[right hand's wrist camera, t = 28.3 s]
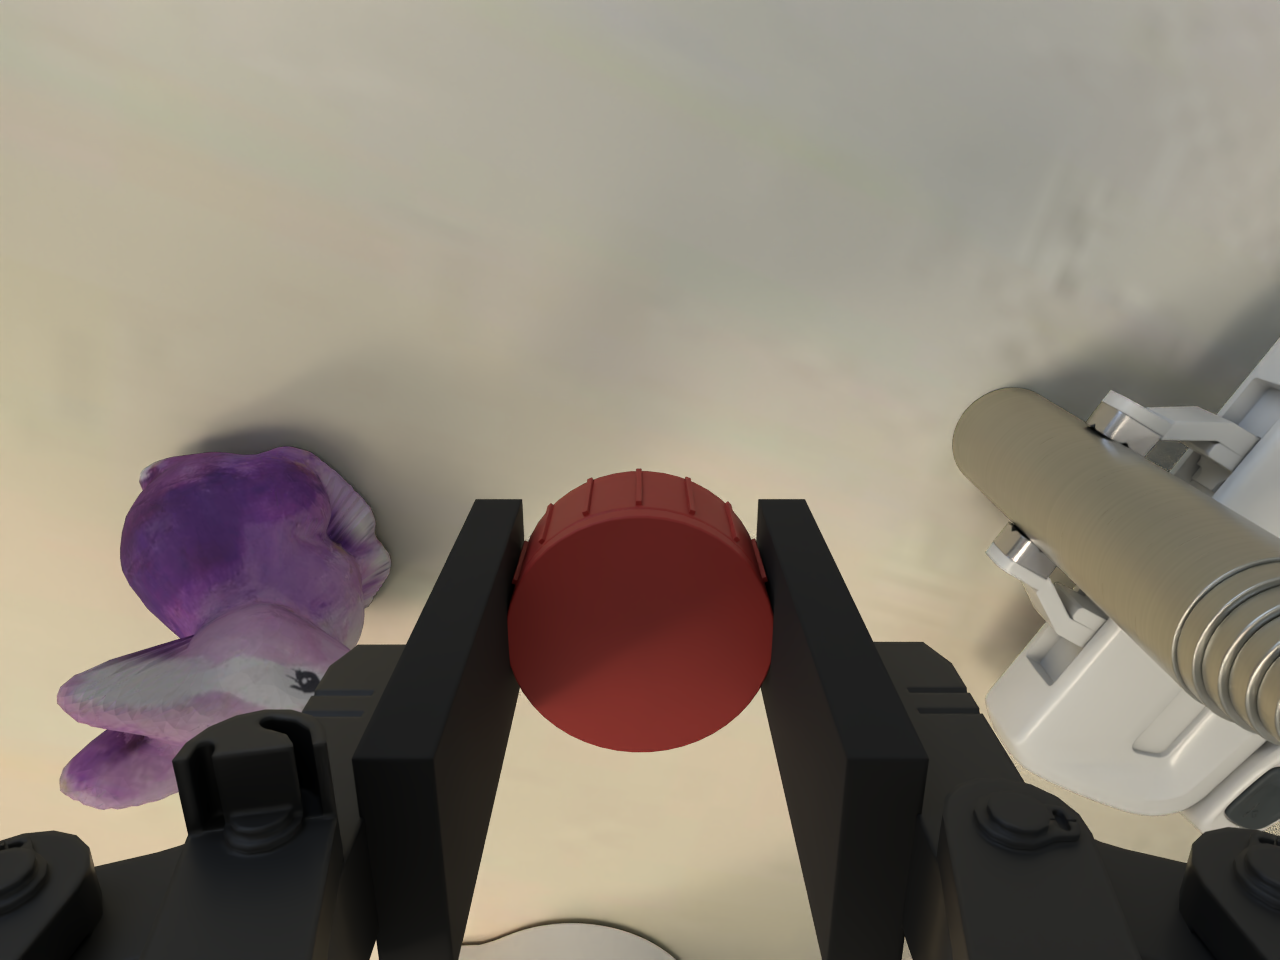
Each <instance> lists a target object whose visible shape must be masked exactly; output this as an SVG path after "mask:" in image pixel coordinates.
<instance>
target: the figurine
mask: <svg viewBox="0 0 1280 960" xmlns="http://www.w3.org/2000/svg"><path fill="white" fill-rule="evenodd" d="M139 482H140V485H141V487H142V490H143V491H142V492H141V493H140V495H139V496H138V498H137V499H136V501H135V502H134V504H133V505H132V507H131V509H130V510H129V512H128V514H127V516H126V519H125V523H124V527H123V531H122V537H121V546H120V559H121V566H122V571H123V573H124V575H125V577H126V579H127V581H128V583H129V585H130V586H131V587H132V589H133V590H134V591H135V593H136V594H137V595H138V596H139V598H140V599H141V600H142V602H143V603H144V605H145V606H146V607H147V608H148V610H149V611H150V612H152V613H153V614H154V615H155V616H156V617H157V618H158V619H159V620H160V621H161V622H162V623H164V624H165V625H166V626H167V627H168V628H169V629H170V630H171V631H172V632H174V633H175V634H176V635H177V636H178V637H179V638H180V639H177V640H174V641H171V642H167V643H164V644H161V645H158V646H154V647H151V648H148V649H144V650H141V651H138V652H134V653H131V654H128V655H124V656H121V657H118V658H115V659H111V660H109V661H106V662H104V663H102V664H100V665H98V666H95V667H93V668H91V669H89V670H87V671H84V672H82V673H79V674H76V675H74V676H73V677H72V678H71V679H70V680H68V681H67V682H66V683H65V684H63V685H62V686H61V687H60V689H59V692H58V695H57V704H58V705H60V707H61V708H62V709H63V710H64V711H65V712H66V713H67V714H69V715H70V716H71V717H72V718H73V719H75V720H76V721H77V722H79V723H84V724H88V725H90V726H92V727H98V728H103V729H107V730H106V731H104V732H103V733H102V734H100V735H99V736H98V737H96V738H95V739H94V740H92V741H91V742H90V743H89V744H88V745H87V746H86V747H84V748H83V749H82V750H81V751H80V752H79V753H78V754H77V755H76V756H75V757H73V758H72V759H71V761H70V762H69V763H68V764H67V765H66V766H65V767H64V768H63V771H62V774H61V777H60V791H61V792H62V793H64V794H65V795H67V796H69V797H70V798H72V799H73V800H77V801H80V802H81V803H82V804H83V805H87V806H91V807H94V808H97V809H109V808H113V809H122V808H127V807H131V806H139V805H142V804H145V803H149V802H154V801H158V800H161V799H164V798H166V797H168V796H169V795H172V794H175V793H177V792H179V791H178V787H177V782H176V778H175V773H174V769H173V764H172V760H173V759H174V757H175V756H176V755H177V753H178V752H179V751H180V750H181V748H182V747H183V746H184V744H185V743H186V742H188V741H189V740H190V739H192V738H193V737H195V736H196V735H198V734H199V733H201V732H202V731H203V730H205V729H206V728H208V727H210V726H212V725H214V724H217V723H219V722H222V721H224V720H226V719H229V718H231V717H234V716H236V715H241V714H245V713H250V712H255V711H260V710H264V709H292V710H295V711H298V712H302V710H303V709H304V707H305V705H306V704H307V702H308V700H309V699H310V697H311V696H314V691H315V689H316V687H317V686H318V684H319V682H320V681H321V679H322V677H323V676H324V674H325V673H326V671H327V669H328V668H329V666H330V665H331V664H333V663H334V662H336V661H337V660H338V659H340V658H341V657H342V656H344V655H345V654H346V653H348V652H349V651H350V650H352V649H353V648H354V647H355V646H356V644H357V642H358V640H359V638H360V635H361V632H362V628H363V624H364V608H366V607H368V606H369V604H370V603H371V602H372V600H373V596H374V595H376V592H377V591H379V588H380V587H382V583H384V582H385V579H386V578H387V577H388V575H389V572H390V568H391V559H390V556H389V553H388V552H387V551H386V550H385V548H384V546H383V545H382V543H381V542H380V541H379V540H378V539H377V537H376V535H375V526H376V522H375V518H374V515H373V512H372V510H371V507H370V506H369V505H367V503H366V502H365V500H364V499H363V498H362V497H361V495H360V494H359V493H358V492H355V491H354V489H353V487H352V486H351V485H350V484H348V483H347V482H346V481H345V480H344V479H343V478H342V477H341V476H340V475H339V474H338V473H337V472H336V471H335V470H333V469H332V468H330V467H329V466H328V465H327V464H326V463H325V462H322V461H321V460H320V458H319V457H317V456H316V455H314V454H313V453H311V452H309V451H306V450H302V449H298V448H295V447H287V446H284V447H278V448H274V449H272V450H269V451H266V452H262V453H259V454H254V455H241V454H233V453H223V452H206V453H198V454H191V455H183V456H176V457H170V458H166V459H163V460H159V461H157V462H154V463H153V464H151V465H149V466H148V467H146V468H145V469H143V470H142V472H141V474H140V480H139Z"/></svg>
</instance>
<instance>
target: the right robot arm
mask: <svg viewBox="0 0 1280 960" xmlns="http://www.w3.org/2000/svg"><path fill="white" fill-rule="evenodd" d="M756 542H757V546H758V549H759V552H760V556H761V559H762V562H763V566H764V569H765V572H766V576H767V579H768V581H767V582H765V585H766V589H767V592H768V596H769V599H770V603H771V607H772V611H773V635H772V652H771V664H770V667H769V670H768V673H767V675H766V678H765V679H764V681H763V683H762V685H761V691H762V696H763V700H764V704H765V709H766V713H767V718H768V722H769V727H770V731H771V735H772V740H773V744H774V749H775V753H776V758H777V762H778V766H779V771H780V775H781V780H782V784H783V789H784V793H785V797H786V802H787V806H788V811H789V815H790V819H791V824H792V828H793V833H794V837H795V842H796V846H797V850H798V855H799V859H800V864H801V868H802V873H803V877H804V881H805V886H806V890H807V895H808V899H809V904H810V908H811V912H812V917H813V921H814V926H815V930H816V935H817V939H818V943H819V948H820V952H821V957H822V960H901V959H902V952H903V945H904V938H906V941H907V944H908V947H909V950H910V953H911V956H912V959H913V960H1280V836H1276V835H1273V834H1270V833H1267V832H1263V831H1260V830H1254V829H1244V828H1234V827H1225V828H1220V829H1216V830H1211V831H1206V832H1204V833H1203V834H1202V835H1201V836H1200V837H1199V838H1198V839H1197V840H1196V841H1195V842H1194V843H1193V844H1192V848H1191V851H1190V855H1189V859H1188V862H1187V863H1183V862H1179V861H1175V860H1170V859H1166V858H1161V857H1157V856H1153V855H1148V854H1144V853H1140V852H1135V851H1131V850H1126V849H1123V848H1119V847H1116V846H1112V845H1109V844H1106V843H1102V842H1099V841H1097V840H1095V839H1094V838H1093V835H1092V833H1091V832H1090V830H1089V829H1088V827H1087V826H1086V824H1085V823H1084V821H1083V820H1082V818H1081V817H1080V815H1079V814H1078V813H1077V812H1076V811H1074V810H1073V809H1072V808H1071V807H1069V806H1068V805H1067V804H1066V803H1064V802H1063V801H1062V800H1060V799H1059V798H1058V797H1056V796H1054V795H1052V794H1050V793H1048V792H1046V791H1044V790H1041V789H1039V788H1037V787H1035V786H1033V785H1031V784H1027V783H1025V782H1024V780H1023V779H1022V777H1021V776H1020V774H1019V772H1018V771H1017V769H1016V767H1015V766H1014V764H1013V762H1012V761H1011V759H1010V758H1009V756H1008V754H1007V753H1006V751H1005V749H1004V748H1003V746H1002V745H1001V743H1000V741H999V740H998V738H997V736H996V735H995V733H994V732H993V730H992V728H991V727H990V725H989V723H988V722H987V720H986V718H985V717H984V715H983V714H980V712H979V707H978V705H977V704H976V702H975V701H974V699H973V697H972V696H971V694H970V693H967V688H966V686H965V684H964V683H963V681H962V679H961V678H960V676H959V675H958V673H957V671H956V670H955V668H954V666H953V665H952V663H951V662H949V661H948V660H947V659H945V658H944V657H943V656H941V655H940V654H938V653H937V652H936V651H934V650H933V649H932V648H930V647H929V646H928V645H926V644H925V643H924V642H873V640H872V638H871V636H870V634H869V632H868V630H867V628H866V626H865V624H864V622H863V620H862V617H861V615H860V613H859V611H858V609H857V607H856V605H855V603H854V601H853V599H852V597H851V595H850V592H849V590H848V588H847V586H846V584H845V582H844V580H843V578H842V576H841V574H840V572H839V569H838V567H837V565H836V563H835V561H834V559H833V557H832V555H831V553H830V551H829V549H828V547H827V544H826V542H825V540H824V538H823V536H822V534H821V532H820V530H819V528H818V526H817V524H816V521H815V519H814V517H813V515H812V513H811V511H810V509H809V507H808V505H807V503H806V501H805V499H758V518H757V538H756ZM523 544H524V527H523V507H522V499H476V500H475V502H474V504H473V506H472V508H471V510H470V512H469V514H468V516H467V519H466V521H465V523H464V525H463V527H462V529H461V531H460V533H459V535H458V537H457V539H456V542H455V544H454V546H453V548H452V550H451V552H450V554H449V556H448V558H447V560H446V562H445V564H444V567H443V569H442V571H441V573H440V575H439V577H438V579H437V581H436V583H435V585H434V587H433V590H432V592H431V594H430V596H429V598H428V600H427V602H426V604H425V606H424V608H423V610H422V613H421V615H420V617H419V619H418V621H417V623H416V625H415V627H414V629H413V631H412V633H411V635H410V638H409V640H408V642H407V644H406V645H357V646H356V647H354V648H353V649H352V650H350V651H349V652H348V653H346V654H345V655H344V656H342V657H341V658H340V659H338V660H337V661H336V662H334V663H333V664H331V665H330V666H329V668H328V669H327V671H326V673H325V674H324V676H323V677H322V679H321V681H320V682H319V684H318V686H317V687H316V689H315V691H314V696H311V697H310V699H309V700H308V702H307V704H306V705H305V707H304V709H303V710H302V712H298V711H295V710H292V709H264V710H260V711H255V712H250V713H245V714H241V715H236V716H234V717H231V718H229V719H226V720H224V721H222V722H219V723H217V724H214V725H212V726H210V727H208V728H206V729H205V730H203V731H202V732H201V733H199V734H198V735H196V736H195V737H193V738H192V739H190V740H189V741H188V742H186V743H185V744H184V746H183V747H182V748H181V750H180V751H179V752H178V753H177V755H176V756H175V757H174V759H173V760H172V764H173V769H174V773H175V778H176V782H177V787H178V791H179V796H180V800H181V805H182V809H183V813H184V818H185V822H186V827H187V831H188V837H187V839H186V842H185V844H183V845H181V846H177V847H174V848H171V849H167V850H164V851H161V852H157V853H153V854H149V855H144V856H140V857H135V858H131V859H127V860H122V861H118V862H114V863H109V864H105V865H100V866H96V867H94V863H93V859H92V856H91V852H90V849H89V847H88V846H87V845H86V844H85V843H84V842H83V841H82V840H81V839H80V838H79V837H78V836H77V835H72V834H68V833H63V832H58V831H45V832H35V833H25V834H21V835H18V836H14V837H11V838H8V839H5V840H1V841H0V960H369V959H370V956H371V953H372V950H373V947H374V944H375V941H377V948H378V955H379V960H458V959H459V955H460V950H461V946H462V942H463V937H464V933H465V928H466V924H467V919H468V915H469V911H470V906H471V902H472V897H473V893H474V888H475V884H476V880H477V875H478V871H479V866H480V862H481V857H482V853H483V849H484V844H485V840H486V835H487V831H488V826H489V822H490V818H491V813H492V809H493V804H494V800H495V795H496V791H497V787H498V782H499V778H500V773H501V769H502V764H503V760H504V756H505V751H506V747H507V742H508V738H509V733H510V729H511V725H512V720H513V716H514V711H515V707H516V702H517V698H518V694H519V689H520V686H519V684H518V682H517V681H516V679H515V676H514V674H513V671H512V668H511V666H510V658H509V642H508V624H507V613H508V609H509V604H510V601H511V597H512V594H513V590H514V587H515V584H512V580H513V577H514V574H515V570H516V567H517V564H518V560H519V557H520V554H521V550H522V547H523Z"/></svg>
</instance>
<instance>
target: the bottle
mask: <svg viewBox="0 0 1280 960" xmlns="http://www.w3.org/2000/svg"><path fill="white" fill-rule="evenodd" d="M952 447H953V455H954V459H955V461H956V464H957V466H958V467H959V469H960V471H961V472H962V473H963V474H964V475H965V476H966V477H967V478H968V479H969V480H970V481H971V482H972V483H973V484H974V485H975V486H976V487H977V488H978V489H979V490H980V491H981V492H982V493H983V494H984V495H985V496H986V497H987V498H988V499H989V500H990V501H991V502H992V503H993V504H994V505H995V506H996V507H997V508H998V509H999V510H1000V511H1001V512H1002V513H1003V514H1004V515H1006V516H1007V517H1008V518H1009V519H1010V520H1011V521H1012V522H1013V523H1014V524H1015V525H1016V526H1017V527H1018V528H1019V529H1020V530H1021V531H1022V532H1023V533H1024V534H1025V535H1026V536H1027V537H1028V538H1029V539H1030V540H1031V541H1032V542H1033V543H1034V544H1035V545H1036V546H1037V547H1038V548H1039V549H1040V550H1041V551H1042V552H1043V553H1044V554H1045V555H1046V556H1047V557H1048V558H1049V559H1050V560H1051V561H1052V562H1053V563H1055V564H1056V565H1057V566H1058V567H1059V568H1060V569H1061V570H1062V571H1063V572H1064V573H1065V574H1066V575H1067V576H1068V577H1069V578H1070V579H1071V580H1072V581H1073V582H1074V583H1075V584H1076V585H1077V586H1078V587H1079V588H1080V589H1081V590H1082V591H1083V592H1084V593H1085V594H1086V595H1087V596H1088V597H1089V598H1090V599H1091V600H1092V601H1093V602H1094V603H1095V604H1096V605H1097V606H1098V607H1099V608H1100V609H1101V610H1102V611H1104V612H1105V613H1106V614H1107V615H1108V616H1109V617H1110V618H1111V619H1112V620H1113V621H1114V622H1115V623H1116V624H1117V625H1118V626H1119V627H1120V628H1121V629H1122V630H1123V631H1124V632H1125V633H1126V634H1127V635H1128V636H1129V637H1130V638H1131V639H1132V640H1133V641H1134V642H1135V643H1136V644H1137V645H1138V646H1139V647H1140V648H1141V649H1142V650H1143V651H1144V652H1145V653H1146V654H1147V655H1148V656H1149V657H1150V658H1151V659H1153V660H1154V661H1155V662H1156V663H1157V664H1158V665H1159V666H1160V667H1161V668H1162V669H1163V670H1164V671H1165V672H1166V673H1167V674H1168V675H1169V676H1170V677H1171V678H1172V679H1173V680H1174V681H1175V682H1176V683H1177V684H1178V685H1179V686H1180V687H1181V688H1182V689H1183V690H1184V691H1185V692H1186V693H1187V694H1188V695H1190V696H1191V697H1192V698H1193V699H1195V700H1196V701H1198V702H1199V703H1201V704H1203V705H1205V706H1206V707H1207V708H1208V709H1209V710H1210V711H1212V712H1213V713H1214V714H1216V715H1217V716H1219V717H1221V718H1223V719H1225V720H1227V721H1229V722H1233V723H1235V724H1237V725H1238V726H1240V727H1241V728H1243V729H1245V730H1247V731H1249V732H1251V733H1254V734H1258V735H1260V736H1261V737H1262V738H1264V739H1265V740H1267V741H1268V742H1271V743H1273V744H1275V745H1277V746H1280V538H1278V537H1277V536H1275V535H1273V534H1272V533H1270V532H1268V531H1267V530H1265V529H1263V528H1261V527H1260V526H1258V525H1256V524H1255V523H1253V522H1251V521H1250V520H1248V519H1246V518H1245V517H1243V516H1241V515H1240V514H1238V513H1236V512H1235V511H1233V510H1231V509H1230V508H1228V507H1226V506H1225V505H1223V504H1221V503H1220V502H1218V501H1216V500H1215V499H1213V498H1211V497H1210V496H1208V495H1206V494H1205V493H1203V492H1201V491H1200V490H1198V489H1196V488H1195V487H1193V486H1191V485H1190V484H1188V483H1186V482H1185V481H1183V480H1181V479H1180V478H1178V477H1176V476H1175V475H1173V474H1171V473H1170V472H1168V471H1166V470H1165V469H1163V468H1161V467H1160V466H1158V465H1156V464H1155V463H1153V462H1151V461H1149V460H1148V459H1146V458H1144V457H1143V456H1141V455H1139V454H1138V453H1136V452H1134V451H1133V450H1131V449H1129V448H1128V447H1126V446H1124V445H1123V444H1120V443H1118V442H1116V441H1114V440H1112V439H1110V438H1109V437H1107V436H1105V435H1104V434H1102V433H1100V432H1099V431H1097V430H1095V429H1094V428H1092V427H1090V426H1089V425H1087V424H1085V422H1084V421H1083V420H1081V419H1079V418H1078V417H1076V416H1074V415H1073V414H1071V413H1069V412H1068V411H1066V410H1064V409H1063V408H1061V407H1059V406H1058V405H1056V404H1054V403H1053V402H1051V401H1049V400H1048V399H1046V398H1044V397H1042V396H1041V395H1039V394H1037V393H1035V392H1033V391H1030V390H1027V389H1023V388H1004V389H999V390H996V391H993V392H990V393H988V394H986V395H984V396H982V397H981V398H979V399H978V400H976V401H975V402H974V403H973V404H972V405H971V406H970V407H969V408H968V409H967V410H966V411H965V412H964V413H963V415H962V416H961V418H960V420H959V422H958V424H957V426H956V429H955V432H954V436H953V445H952Z"/></svg>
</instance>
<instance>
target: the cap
mask: <svg viewBox="0 0 1280 960" xmlns="http://www.w3.org/2000/svg"><path fill="white" fill-rule="evenodd" d="M767 581H768V579H767V576H766V572H765V569H764V566H763V562H762V559H761V556H760V552H759V549H758V546H757V542H756V540H755V539H752V540H751V538H750V536H749V533H748V532H747V530H746V528H745V527H744V525H743V523H742V522H741V520H740V519H739V518H738V517H737V515H736V514H735V513H734V512H733V510H732V506H731V504H730V503H729V502H726V503H724V502H723V501H722V500H721V499H720V498H718V497H717V496H716V495H714V494H713V493H712V492H710V491H709V490H707V489H705V488H703V487H701V486H700V485H698V484H696V483H694V482H691V478H688V477H685V479H683V478H681V477H678V476H673V475H669V474H665V473H659V472H650V471H642V469H636V471H630V472H622V473H615V474H611V475H607V476H603V477H599V478H597V479H594V480H593V478H589V479H587V483H584V484H583V485H581V486H579V487H577V488H575V489H574V490H572V491H570V492H569V493H567V494H566V495H565V496H563V497H562V498H561V499H559V500H558V501H557V502H556V503H555V504H554V505H553V504H552V503H550V504H549V505H548V507H547V511H546V513H545V515H544V516H543V517H542V519H541V520H540V521H539V522H538V524H537V526H536V527H535V529H534V531H533V533H532V535H531V536H530V539H529V542H527V541H524V544H523V547H522V550H521V554H520V557H519V560H518V564H517V567H516V570H515V574H514V577H513V580H512V584H515V587H514V590H513V594H512V597H511V601H510V604H509V609H508V613H507V624H508V642H509V658H510V666H511V668H512V671H513V674H514V676H515V679H516V681H517V682H518V684H519V686H520V688H521V690H522V691H523V693H524V694H525V696H526V697H527V698H528V700H529V701H530V702H531V704H532V705H533V706H534V707H535V708H536V709H537V710H538V711H539V712H540V713H541V714H542V715H543V716H544V717H545V718H546V719H547V720H549V721H550V722H551V723H552V724H554V725H555V726H556V727H558V728H559V729H561V730H563V731H564V732H566V733H568V734H569V735H571V736H573V737H575V738H578V739H580V740H582V741H584V742H587V743H590V744H593V745H596V746H599V747H602V748H607V749H612V750H617V751H626V752H655V751H663V750H669V749H673V748H678V747H682V746H685V745H688V744H691V743H694V742H696V741H699V740H701V739H703V738H705V737H707V736H709V735H711V734H713V733H715V732H716V731H718V730H719V729H721V728H723V727H724V726H726V725H727V724H728V723H729V722H731V721H732V720H733V719H734V718H735V717H737V716H738V715H739V714H740V713H741V712H742V711H743V710H744V709H745V708H746V707H747V705H748V704H749V703H750V702H751V701H752V699H753V698H754V696H755V695H756V694H757V692H758V691H759V689H760V687H761V685H762V683H763V681H764V679H765V678H766V675H767V673H768V670H769V667H770V664H771V652H772V635H773V611H772V607H771V603H770V599H769V596H768V592H767V589H766V585H765V582H767Z"/></svg>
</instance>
